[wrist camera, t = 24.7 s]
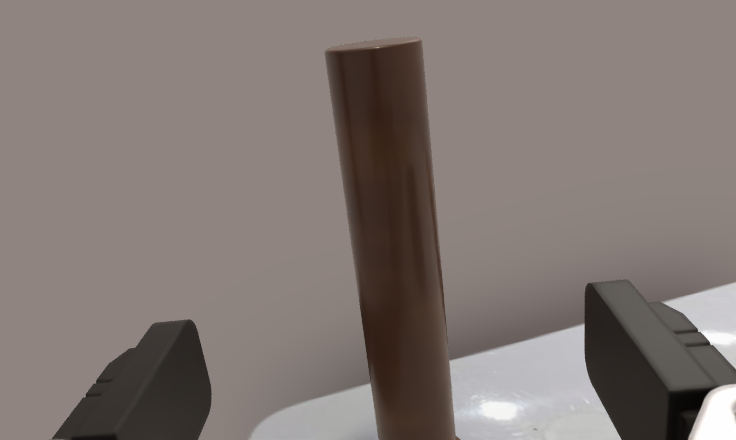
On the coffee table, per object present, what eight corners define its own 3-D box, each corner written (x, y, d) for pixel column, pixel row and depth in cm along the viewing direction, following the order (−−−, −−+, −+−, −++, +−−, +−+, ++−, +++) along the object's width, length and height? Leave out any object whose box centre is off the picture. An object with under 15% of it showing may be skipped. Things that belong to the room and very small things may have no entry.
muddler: (386, 531, 22) (318, 56, 16) (363, 457, 26) (300, 49, 20) (488, 502, 23) (457, 36, 17) (451, 434, 26) (415, 33, 21)
